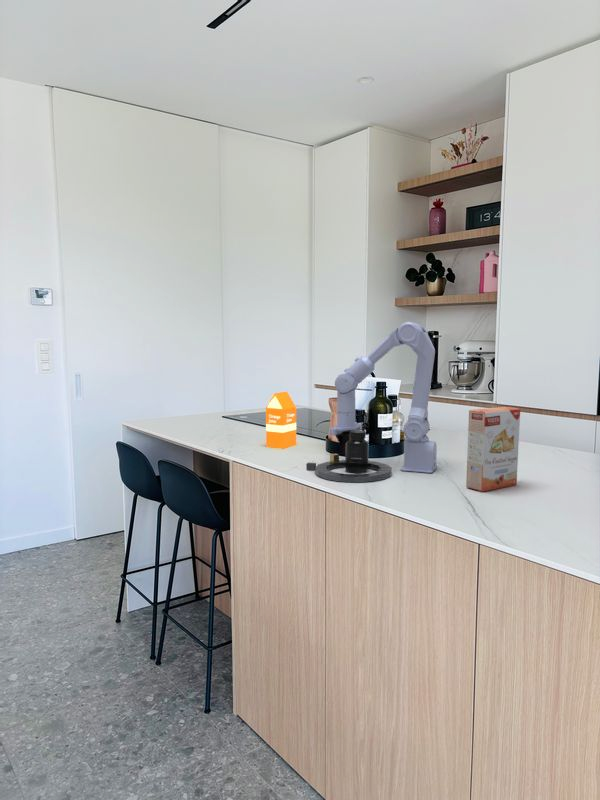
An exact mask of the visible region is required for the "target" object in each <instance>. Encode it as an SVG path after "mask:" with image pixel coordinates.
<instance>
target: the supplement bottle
mask: <svg viewBox="0 0 600 800" xmlns="http://www.w3.org/2000/svg"><path fill="white" fill-rule="evenodd" d="M349 438H350V439H349V440H348V441H347V442H346V455H344V456H345V459H344V460H345V467H344V468H345V471H346V472H348V473H349V474H366V473H367V472H368V471H369V468H368V461H369V448H370V447H369V442H368V441H367V440H366V431H365V430H353V431H350V432H349Z"/></svg>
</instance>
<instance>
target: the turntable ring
mask: <svg viewBox="0 0 600 800" xmlns="http://www.w3.org/2000/svg"><path fill="white" fill-rule="evenodd" d="M339 468H345V459H342V460H340V454H338V453H330V454H329V461H326V462H322V463H319V464H316V467H315V470H314V473H315V475H316V476H317V477H319V478H322V479H325V480H329V481H335V482H346V483H366V482H367V483H368V482H369V483H370V482H376V481H380V480H384V479H387V478H390V477H391V476H392V471H393V470H392V469H393V468H392V466H390V465H388V464H387V463H386V464H385V463H382V462H379V461H373V460H368V469H372V470H375V472H369V473H341V472H334V471H331V470H332V469H333V470H334V469H339Z"/></svg>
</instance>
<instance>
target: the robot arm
mask: <svg viewBox="0 0 600 800" xmlns="http://www.w3.org/2000/svg"><path fill="white" fill-rule="evenodd" d="M402 345H406V346H408V347H409V348H411V350H412V351H413V352H414V353H415V354H416V356H417V357H416V358H417V359H416V360H417V361H416V366H415V367H416V368H415V374H414V381H413V389H412V397H411V403H410V409H409V412H408V416H407V417H408V418H407V420H406V422H405V424H404V426H403V434H404V436H405V437H404V440H403V442H404V443H403V448H404V449H403V452H404V453H403V466H402V467H401V468H400V469H399V470H400V471H402V472H403V471H404V472H416V473H429V474H432V473H434V471H435V470H436V469H437V442H436V441H433V440H430V438H429V437H428V435H427V433H428V432H429V430H430V423H429V419H428V417H429V410H428V407H429V399H430V393H431V385H432V379H433V372H434V371H433V370H434V363H435V354H436V349H435V347H434V344H433V343H432V340H431V338H430V336H429V332H428V331H427V329H425V328H424V326H422V325H421V324H420V323H418V322H412V321H404V322H403V323H402V324H400V325H399V327H398V328H397V327H396V328H395V329H394V330H393V331H391V332H390V333H389V334H388V335H387V336H386V337H385V338H384V339H383V340H382V341H381V342H380V343H379V344H378V345H377V346H376V347H375V348H374V349H373V350H372V351H371V352H370V353H369V354H368V355H365V356H364V355H363V356H362V355H361V356H360V357H356V358H355V359H354V362H353V364H351V365H350V367H348V368H345V369H344V370H343V372H344V373H341V374H338V376H337V377H336V379H335V380H334V387H335V390H336V393H337V394H336V396H337V398H336V416H337V417H336V424H334V427H330V428H329V435H330V436H335V437H336V439H337V441H338V443H339V447H340V451H341V454H342V456H346V442H347V441H348V440H349V439H350V438H349V432H350V431H353V430H359V431H363V424H362V423H359V422H356V390H357V388H358V385H359V384H361V383H362V382H363V381H364V380H366V378H367V377H368V376H370V375H371V374H372V373H373V372H374V371H375V366H376V364H377V363H378V361H380V360H381V359H382V358H384V357H385V355H386V354H388V353H390V351H391V350H392V349H394V348H395V347H400V346H402Z"/></svg>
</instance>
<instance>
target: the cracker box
mask: <svg viewBox="0 0 600 800" xmlns="http://www.w3.org/2000/svg"><path fill="white" fill-rule="evenodd" d="M520 420H521V409H520V408H518V407H509V406H500V407H497V406H496V407H489V408H488V407H487V408H477V409H469V410H468V429H467V430H468V431H467V433H468V434H467V454H466V455H467V458H466V485H465V486H466V488H468V489H472V490H476V491H478V492H487V491H492V490H497V489H501V488H502V489H503V488H507V487H511V486H517V485H518V482H517V480H518V465H519V463H518V461H519V444H520V425H521V424H520V423H521V422H520Z"/></svg>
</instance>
